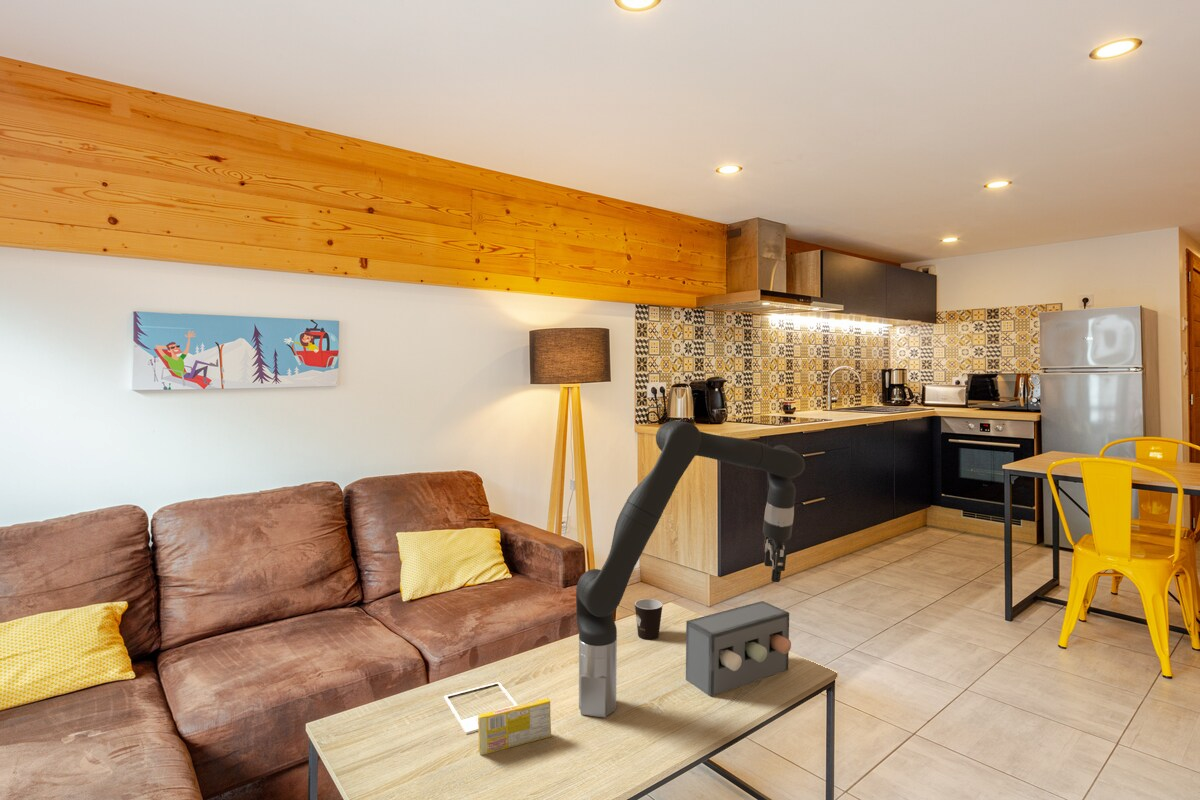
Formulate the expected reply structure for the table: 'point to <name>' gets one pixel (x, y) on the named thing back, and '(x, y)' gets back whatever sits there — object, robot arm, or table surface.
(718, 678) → the console
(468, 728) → the photo frame
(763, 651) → the sage button
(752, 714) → the table surface
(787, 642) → the terracotta button
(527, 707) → the candy box
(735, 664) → the cream button
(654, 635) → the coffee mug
